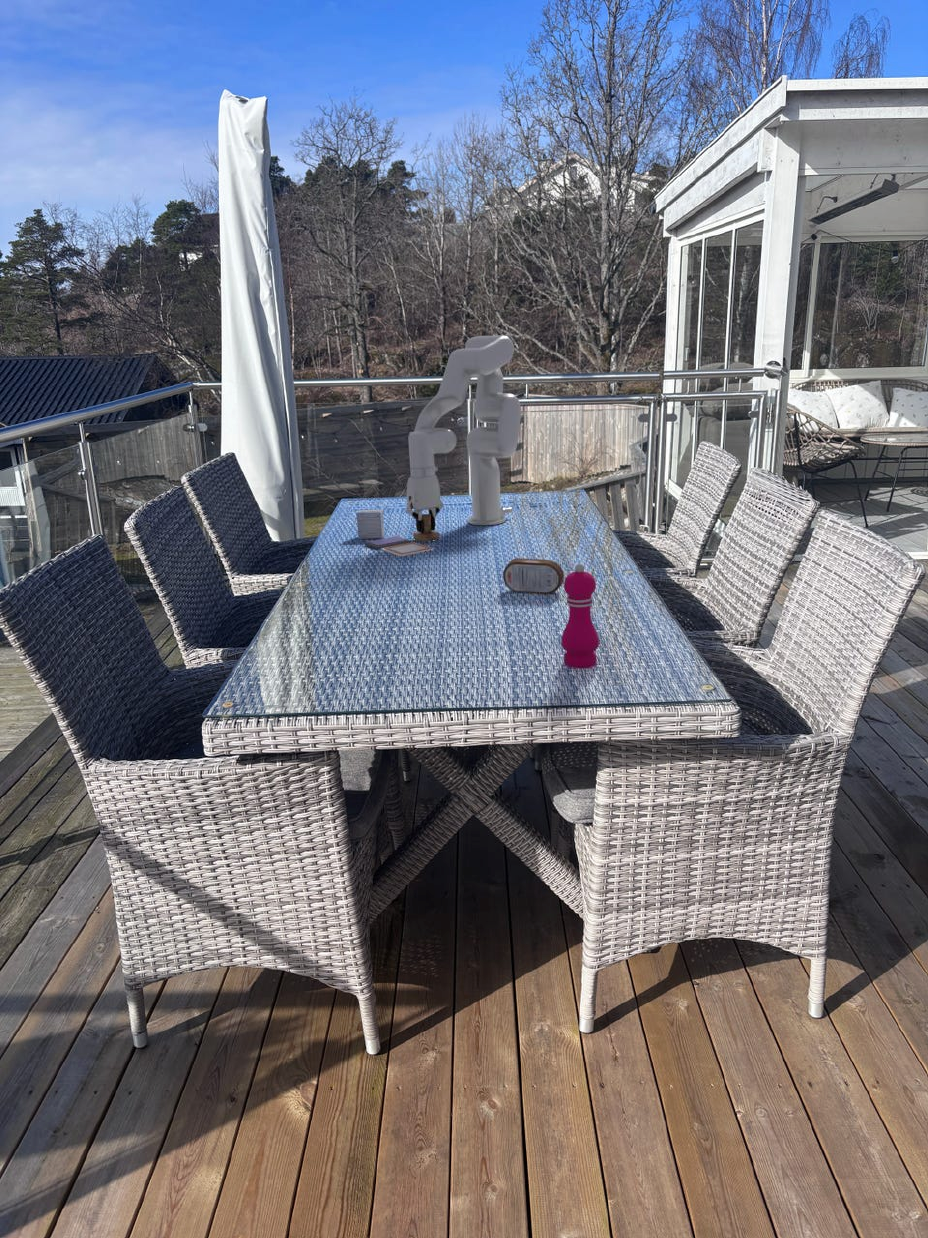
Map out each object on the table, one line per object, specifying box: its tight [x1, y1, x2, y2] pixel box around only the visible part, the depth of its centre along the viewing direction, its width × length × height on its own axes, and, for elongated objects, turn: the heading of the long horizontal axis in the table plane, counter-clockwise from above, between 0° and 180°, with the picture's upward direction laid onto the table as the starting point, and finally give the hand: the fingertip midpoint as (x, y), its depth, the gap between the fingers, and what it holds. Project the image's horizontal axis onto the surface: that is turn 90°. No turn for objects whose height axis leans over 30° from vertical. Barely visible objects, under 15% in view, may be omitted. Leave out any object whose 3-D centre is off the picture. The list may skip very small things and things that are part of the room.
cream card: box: [380, 541, 435, 558], centre depth 269 cm, size 12×12×1 cm
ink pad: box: [364, 535, 412, 551], centre depth 277 cm, size 12×8×1 cm, turn 124°
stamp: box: [412, 513, 441, 544], centre depth 279 cm, size 6×6×8 cm
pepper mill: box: [560, 563, 600, 669], centre depth 171 cm, size 7×7×20 cm
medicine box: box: [355, 509, 386, 540], centre depth 286 cm, size 8×4×9 cm, turn 84°
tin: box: [502, 557, 565, 595], centre depth 219 cm, size 15×3×8 cm, turn 71°
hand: (426, 530), depth 280 cm, fingers closed on stamp, 3 cm apart
